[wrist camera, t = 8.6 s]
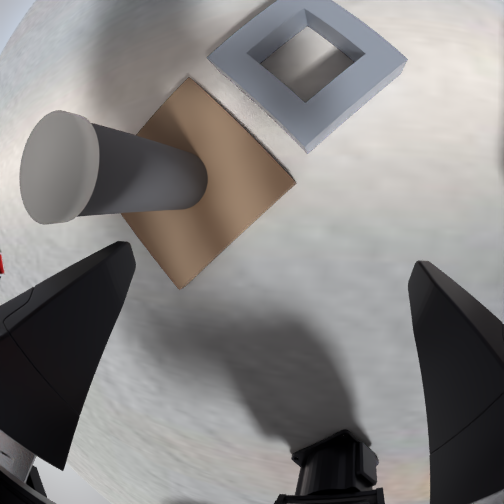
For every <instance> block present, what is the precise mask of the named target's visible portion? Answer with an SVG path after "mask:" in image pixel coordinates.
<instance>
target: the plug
mask: <svg viewBox="0 0 504 504" xmlns="http://www.w3.org/2000/svg"><path fill="white" fill-rule="evenodd" d="M207 183H208V175H207V170H206V167H205V165H204V163H203V162H202V160H201V159H200V158H199V157H197V156H196V155H194V154H192V153H189V152H186V151H183V150H180V149H177V148H174V147H171V146H168V145H165V144H162V143H159V142H156V141H152V140H149V139H146V138H143V137H139V136H136V135H133V134H129V133H126V132H122V131H119V130H115V129H112V128H108V127H104V126H101V125H97V124H93V123H90V122H89V120H87V119H86V118H85V117H83V116H81V115H77V114H73V113H70V112H66V111H61V110H58V111H53V112H51V113H49V114H47V115H46V116H44V117H43V118H42V119H41V120H40V121H39V122H38V123H37V125H36V126H35V127H34V129H33V130H32V132H31V134H30V136H29V138H28V140H27V143H26V145H25V148H24V151H23V155H22V159H21V165H20V191H21V197H22V200H23V204H24V206H25V208H26V210H27V212H28V214H29V215H30V217H31V218H32V219H33V220H35V221H36V222H38V223H40V224H54V223H63V222H68V221H70V220H72V219H74V218H75V217H78V216H89V215H102V214H115V213H129V212H145V211H163V210H183V209H187V208H190V207H192V206H194V205H195V204H197V203H198V202H199V201H200V199H201V198H202V197H203V195H204V193H205V191H206V188H207Z"/></svg>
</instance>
